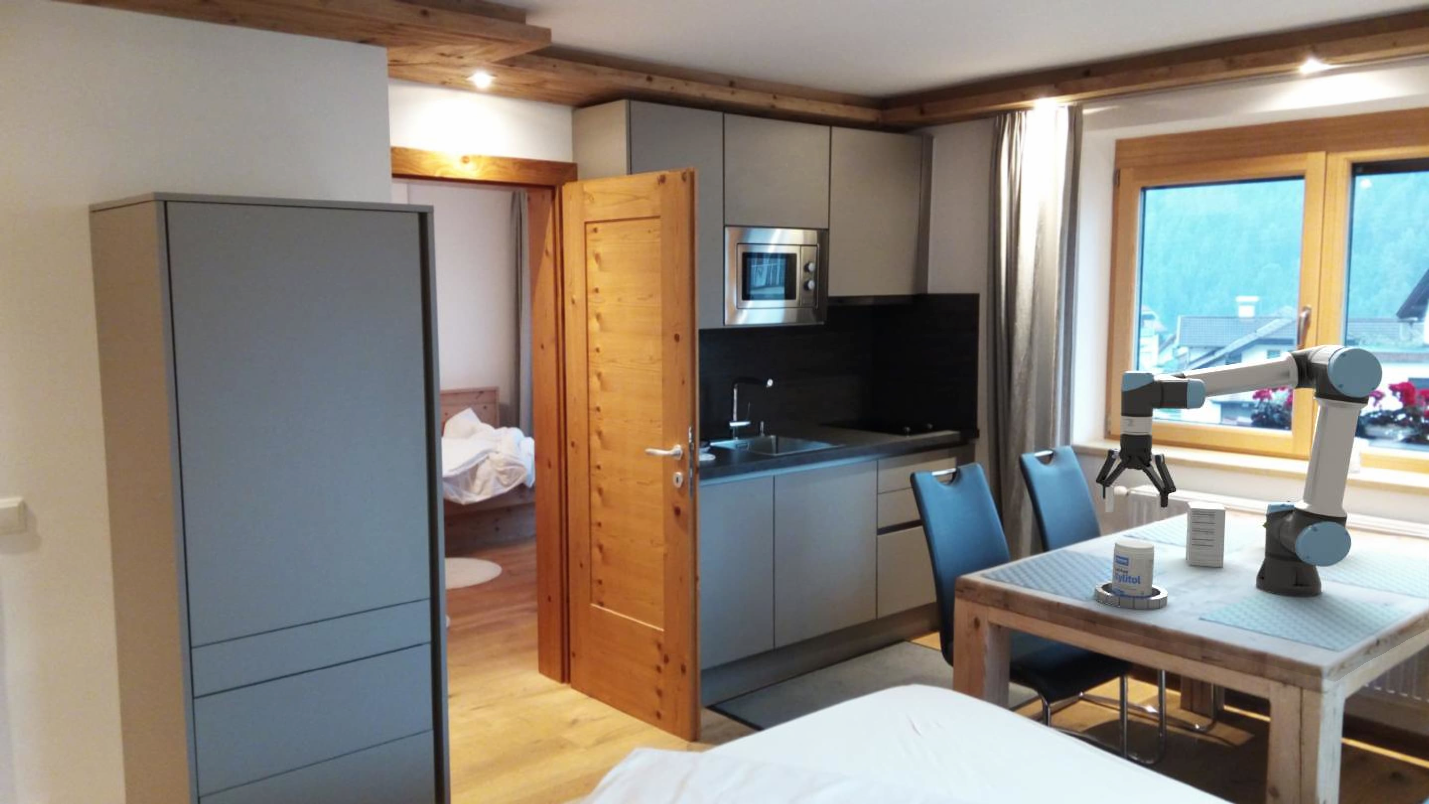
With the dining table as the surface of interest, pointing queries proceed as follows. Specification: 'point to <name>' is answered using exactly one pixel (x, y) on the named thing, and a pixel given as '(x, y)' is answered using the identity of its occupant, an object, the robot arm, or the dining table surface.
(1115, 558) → the supplement tub
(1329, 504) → the robot arm
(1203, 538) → the supplement box
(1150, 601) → the collar
